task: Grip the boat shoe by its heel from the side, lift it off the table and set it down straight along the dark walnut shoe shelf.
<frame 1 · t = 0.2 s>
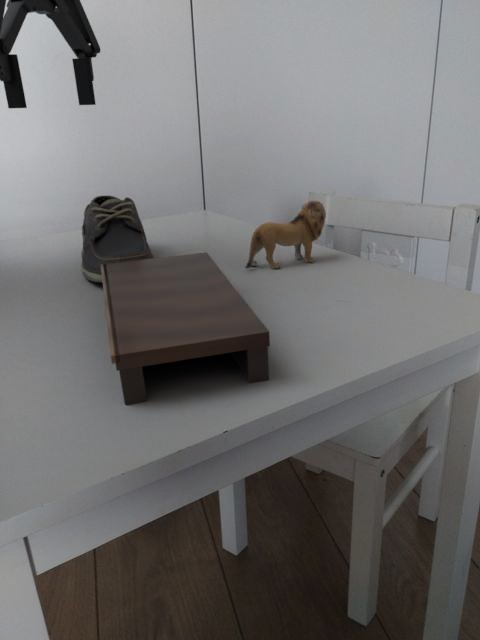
hand: (54, 106, 84), 24 cm above the table, tool pointing down, fingers open, 13 cm apart
shoe shelf: (175, 332, 66), on the table
lion figurine: (287, 263, 90), on the table
boat shoe: (114, 267, 92), on the table
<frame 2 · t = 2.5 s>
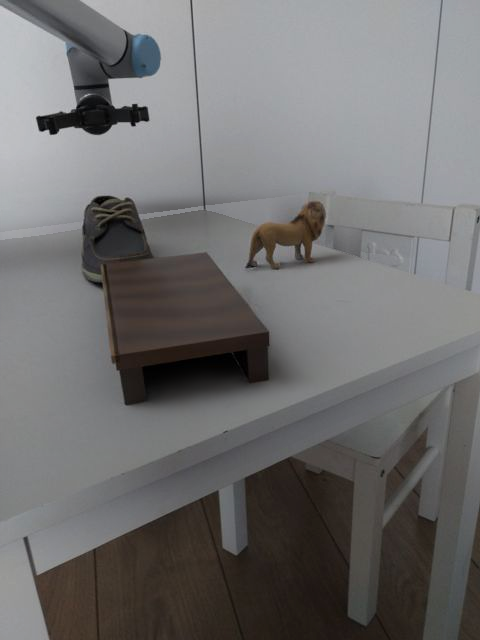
hand: (93, 122, 99), 21 cm above the table, tool horizontal, fingers open, 13 cm apart
nothing on the table moved.
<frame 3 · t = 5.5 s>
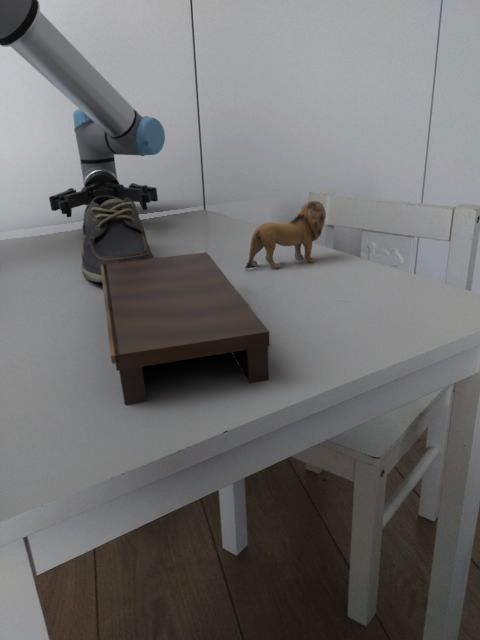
hand: (106, 205, 104), 7 cm above the table, tool horizontal, fingers open, 13 cm apart
nothing on the table moved.
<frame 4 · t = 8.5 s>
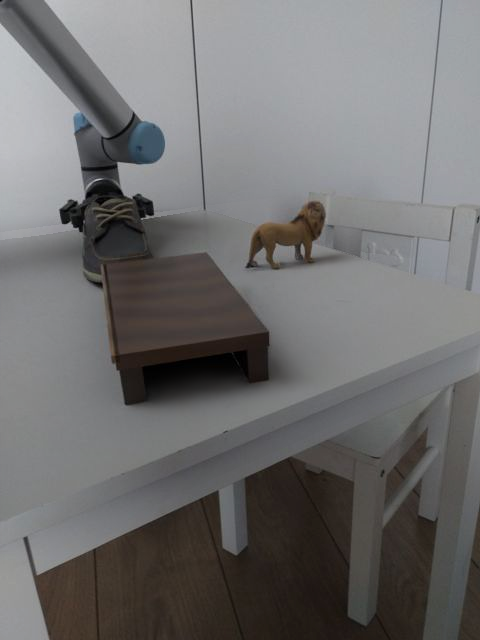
hand: (109, 221, 93), 6 cm above the table, tool horizontal, fingers closed on boat shoe, 9 cm apart
boat shoe: (115, 267, 92), on the table, touching gripper
everything else where it was.
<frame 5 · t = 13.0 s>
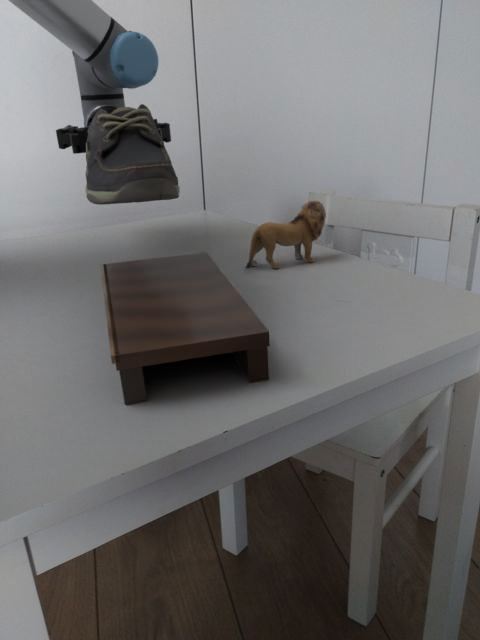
hand: (118, 139, 75), 20 cm above the table, tool horizontal, fingers closed on boat shoe, 9 cm apart
boat shoe: (126, 196, 74), point 13 cm above the table, touching gripper
everything else where it was.
when the fingers open (11 cm above the table, at t = 18.0 s): boat shoe stays where it is, resting on shoe shelf.
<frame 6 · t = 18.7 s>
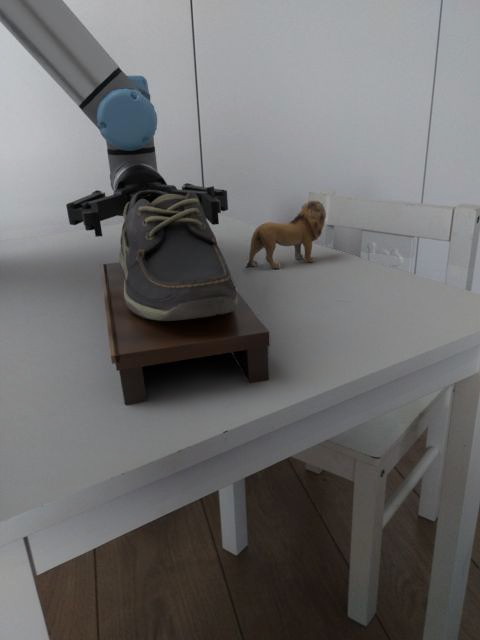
hand: (157, 218, 66), 12 cm above the table, tool horizontal, fingers open, 13 cm apart
boat shoe: (168, 293, 64), point 5 cm above the table, touching shoe shelf
everything else where it was.
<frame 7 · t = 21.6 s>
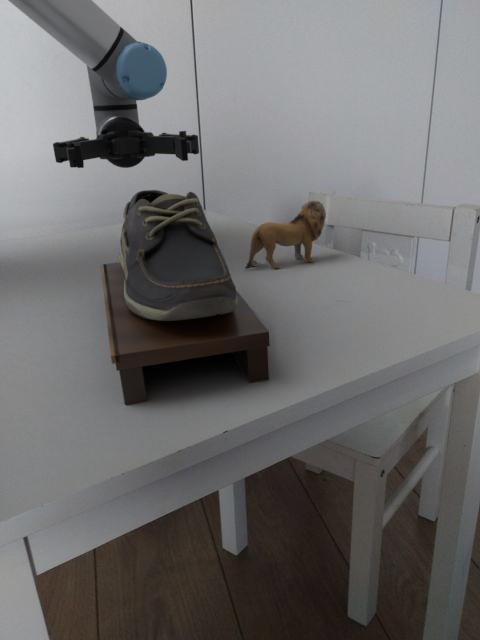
hand: (132, 153, 74), 18 cm above the table, tool horizontal, fingers open, 13 cm apart
nothing on the table moved.
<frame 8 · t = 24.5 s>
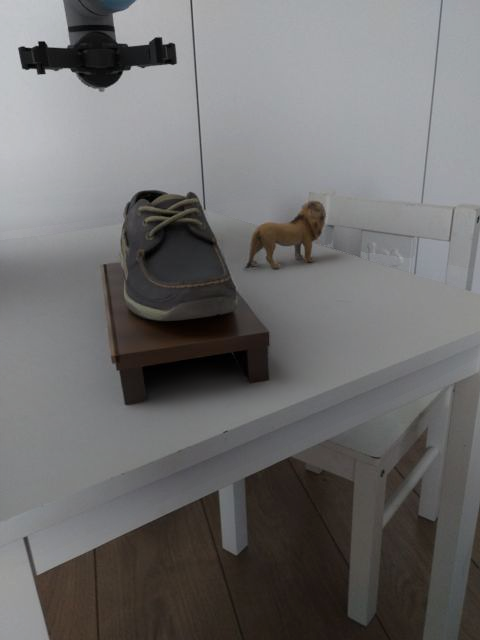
hand: (102, 52, 69), 30 cm above the table, tool horizontal, fingers open, 13 cm apart
nothing on the table moved.
at the end: boat shoe inside the target area on the shoe shelf (0.3 cm from its centre), point 4.8 cm above the shoe shelf's base; boat shoe tilted 0°; the gripper is holding nothing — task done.
